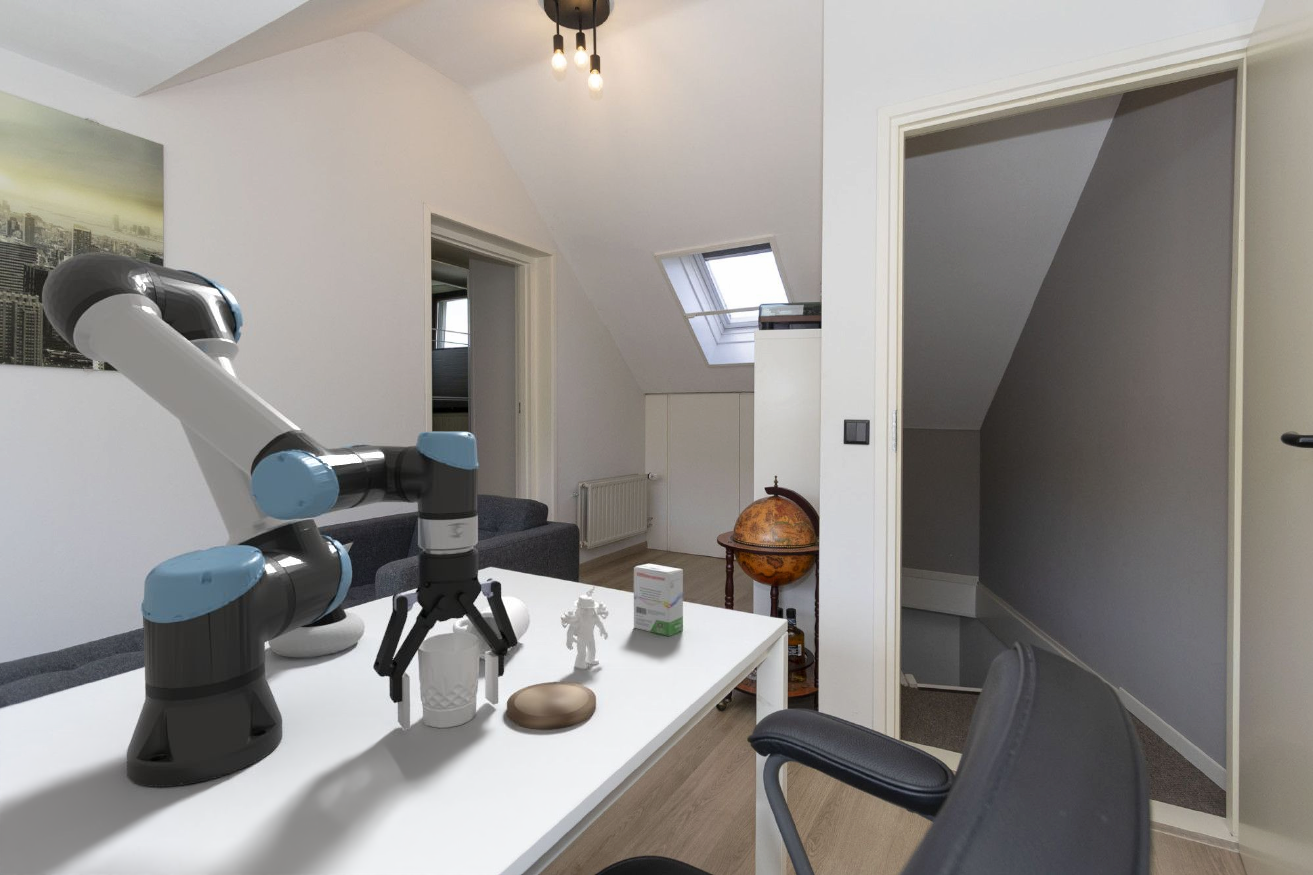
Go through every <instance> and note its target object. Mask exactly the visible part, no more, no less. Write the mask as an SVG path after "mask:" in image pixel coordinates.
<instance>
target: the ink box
mask: <svg viewBox="0 0 1313 875" xmlns="http://www.w3.org/2000/svg"><path fill="white" fill-rule="evenodd" d="M683 571H684V569H682V568H676V567H670V566H665V565H659V564H656V563H655V564H653V563H646V564H640V565H636V566H635V567H633V628H634V629H637V630H642V631H647V632H650V633H653V634H654V633H655V634H658V635H662V636H666V637H671V636H673V635H676V634H678V633H679V632H681V631H683V630H684V575H683V574H684V572H683Z"/></svg>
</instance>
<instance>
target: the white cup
mask: <svg viewBox="0 0 1313 875" xmlns="http://www.w3.org/2000/svg"><path fill="white" fill-rule="evenodd" d="M479 653H480V638H479V637H478V636H476V635H473V634H469V633H454V632H448V633H447V632H446V633H440V634H436V635H431V636H428V637H425V639H424V640H423V642H422V644H421V645H420V647H419V649H418V650H417V660H418V680H419V691H420V700H421V706H422V719H423V720H422V722H423V723H424V724H425V725H426V726H428V727H431V728H432V727H433V728H437V729H442V728H443V729H447V728H453V727H456V726H457V727H458V726H461V725H464V724H466V723H468V722H469V721H472V719H473V718H474V717H475V716H476V714H477V695H478V691H479V688H478V687H479V674H480V658H479Z"/></svg>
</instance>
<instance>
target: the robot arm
mask: <svg viewBox="0 0 1313 875" xmlns="http://www.w3.org/2000/svg"><path fill="white" fill-rule="evenodd" d="M41 301H42V309H43V310H44V314H45V317H46V318H47V320H48V322H49V323H50V325H51V326H52V328H53V329H54V330H55V331H56V333H58V334H59V335H60V336H61V338H62V339H63V340H64V341H65V342H67V343H68V344H69V345H70V346H72V348H73V349H75V350H77V352H79V353H80V354H82V356H84V357H86V358H87V359H89V360H92V361H96V362H101V363H107V364H109V365H110V366H112V367H113V368H114V369H115V370H117V371H118V372H119V373H120V374H121V375H123V377H125V378H126V379H128V380H129V381H130V382H132V383H133V384H134V385H135V386H136V387H138V388H139V389H141V391H143V392H144V393H145V394H146V395H147V396H149V397H150V398H151V399H153V400H154V401H155V402H157V403H158V404H159V405H160V406H162V407H163V409H165V410H167V411H168V412H169V413H170V414H172V416H174V417H175V418H177V419H178V420H179V423H180V425H181V428H182V429H183V431H184V434H185V435H186V439H187V441H188V443H189V445H190V448H191V450H192V452H193V454H194V457H195V460H196V461H197V463H198V467H199V469H200V471H201V473H202V475H203V477H204V481H205V482H206V484H207V487H208V489H209V493H210V494H211V496H212V499H213V501H214V503H215V506H216V508H217V510H218V512H219V516H220V517H221V520H222V521H223V525H224V526H225V529H226V531H227V533H228V536H229V538H228V540H227V542H226V544H225V545H220V546H212V547H209V548H207V549H198V550H194V551H189V552H185V553H183V554H180V555H177V556H174V557H171V558H168V559H166V560H164V561H162V562H160V563H159V564H157V565H156V566H154V567H153V568H151V570H150V571H149V573H147V575H146V577H145V580H144V584H143V585H144V586H143V587H144V589H143V599H142V603H141V606H140V607H141V608H140V611H141V613H142V624H143V625H142V626H143V630H142V631H143V648H144V649H143V650H144V653H143V654H144V655H143V656H144V681H145V682H144V683H145V684H144V688H145V690H144V691H145V694H144V695H145V699H144V702H143V705H142V708H141V711H140V714H139V717H138V719H137V723H136V724H135V728H134V730H133V734H132V735H131V736H132V737H131V739H130V742H129V745H128V748H127V750H126V758H125V759H126V775H127V777H128V779H129V780H130V781H132V782H133V783H135V784H138V785H142V786H148V787H175V786H185V785H189V784H196V783H200V782H204V781H207V780H208V781H209V780H213V779H216V778H219V777H223V776H225V775H229V774H231V773H233V772H237V771H239V770H241V769H244V768H246V767H249V766H250V765H253V764H254V763H256V762H258V761H260V760H262V759H264V758H265V757H266V756H267V755H269V754H270V753H271V752H273V751H274V750H275V749H276V748H277V747H278V746H279V744H280V743H281V742H282V739H283V717H282V713H281V712H280V709H279V705H278V704H277V701H276V699H275V696H274V694H273V692H272V689H271V688H270V687H271V686H270V685H269V683H268V680H267V677H266V650H265V649H266V646H265V645H266V644H265V643H267V642H268V641H269V640H272V639H274V638H276V637H279V636H281V635H283V634H285V633H288V632H290V631H292V630H294V629H297V628H299V627H301V626H303V625H308V624H311V623H312V622H314V621H317V620H319V619H320V618H322V617H323V616H324V615H326V614H328V613H330V612H331V611H333V610H334V609H335V608H336V607H338V606H339V604H341V603H342V602H344V600H345V598H346V596H347V593H348V591H349V588H350V586H351V584H352V578H353V570H352V569H353V568H352V561H351V558H350V556H349V554H348V553H349V552H348V553H347V551H346V550H345V548H344V547H343V544H342V543H340V541H338V540H337V539H333V538H332V537H331V536H328V535H325V534H323V535H322V534H321V532H320V530H319V528H318V526H317V523H316V522H315V519H314V518H316V517H320V516H322V515H325V514H330V513H334V512H338V511H343V510H347V509H348V510H349V509H353V508H358V507H362V506H363V507H364V506H368V505H372V504H377V503H379V504H380V503H408V504H411V503H417V520H418V521H417V522H418V524H417V528H418V530H417V532H418V533H417V535H418V536H417V545H418V548H420V549H422V550H420V552H419V553H418V555H417V556H418V557H417V558H418V559H417V560H418V563H417V564H418V570H417V571H418V585H417V587H416V590H415V592H410V593H404V594H402V593H401V592H396V593H394V594H393V595H392V611H391V613H390V614H391V615H390V617H389V620H388V623H387V626H386V629H385V631H384V634H383V637H382V640H381V643H380V646H379V648H378V651H377V655H376V658H375V659H374V660H375V661H374V663H373V670H374V671H375V672H376V674H377V675H378V676H380V677H381V678H383V677H389V678H388V679H389V680H388V682H389V683H388V684H389V686H388V688H389V698H390V700H391V701H392V702H393V703H394V704H396V703H397V723H398V724H399V725H400V726H401V728H402V729H403V730H407V729H410V728H411V695H410V692H411V690H410V688H411V686H410V685H411V682H410V681H411V680H410V675H409V674H408V673H407V672H406V670H407V669H408V667H409V666H410V664H411V662H412V660H413V659H414V657H415V656H416V654H417V653H418V649H419V647H420V645H421V644H422V642H423V640H424V639H426V638H427V635H428V634H429V632H430V630H432V629H434V627H435V625H436V623H437V621H438V622H439V623H441V622H446V621H448V620H449V621H450V620H451V619H457V620H459V619H463V618H464V616H466V618H468V619H469V620H470V621H471V623H472V624H473V625H474V627H475V628H476V629H477V630H478V632H479V633H480V634H481V636H482V637H483V638H484V640H485V641H486V642H487V644H488V645H489V646H490V648H491V649H492V652H491V651H487V652H485V660H484V663H485V664H484V668H485V669H484V670H485V672H484V674H485V675H484V676H485V677H484V679H485V680H484V681H485V682H484V683H485V686H484V688H485V689H484V691H485V692H484V693H485V694H484V696H485V697H484V698H485V699H486V700H487V701H488V702H489V703H491V704H492V705H497V704H499V677H503V676H504V673H505V656H506V655H507V654H508V652H509V651H508V649H509V648H510V647H512V648H515V647H516V646H517V645H518V641H517V638H516V636H515V633H514V630H513V628H512V625H511V622H510V620H509V617H508V614H507V612H506V609H505V606H504V603H503V601H502V598H501V597H502V583H501V582H500V581H498V580H496V579H493V578H490V577H489V578H488V579H487V580H486V581H482V582H481V581H479V578H478V577H479V550H478V549H477V548H476V547H475V546H477V544H478V543H479V522H478V521H479V519H478V518H479V516H478V514H479V513H478V512H479V511H478V480H479V479H478V478H479V475H478V473H479V466H480V463H479V461H478V448H477V447H478V446H477V438H476V437H475V435H474V434H473V433H471V432H469V431H422V432H420V433H419V434H418V436H417V440H416V441H417V442H416V443H415V445H409V446H400V445H399V446H398V445H397V446H395V445H370V444H355V445H354V444H353V445H346V446H344V445H343V446H341V447H339V448H336V447H335V448H327V447H325V446H323V445H322V444H321V443H319V442H318V441H316V439H314V438H313V437H311V436H310V435H309V434H307V433H306V432H305V431H303V430H302V429H301V428H300V427H299V426H297V425H296V424H295V423H293V422H292V421H291V420H290V419H289V418H287V417H286V416H284V414H282V413H281V412H279V411H278V410H277V409H276V408H274V407H273V406H272V405H271V404H270V403H268V402H267V401H266V400H264V399H263V398H262V397H260V396H259V395H258V394H257V393H256V392H255V391H253V390H252V389H251V388H249V387H248V386H247V385H245V383H243V382H241V380H240V378H239V375H238V373H237V370H236V368H235V366H234V363H233V362H234V360H235V358H236V356H237V355H238V354H239V351H240V348H239V346H238V342H239V341H240V339H241V335H242V331H240V328H241V327H243V325H244V320H243V314H242V310H241V307H240V305H239V303H238V301H237V299H236V298H235V297H234V295H233V293H231V292H230V291H229V290H228V288H226V287H225V286H224V285H222V283H220V282H217V281H216V280H213V279H211V278H209V277H205V276H203V275H201V274H199V273H197V272H196V273H195V272H193V271H189V270H183V269H174V268H170V267H166V266H162V265H159V264H155V263H152V262H148V261H143V260H141V259H137V258H133V257H130V256H126V255H122V254H119V253H118V254H117V253H114V252H103V251H102V252H101V251H100V252H96V251H95V252H86V253H81V254H78V255H77V254H76V255H74V256H72V257H68V258H67V259H65V260H64V261H61V263H59V264H58V265H57V266H55V267H54V268H53V269H52V271H51V272H50V273H49V274H48V276H47V277H46V279H45V281H44V284H43V286H42V292H41ZM481 592H482V595H483V596H484V597H486V600H487V603H488V606H490V608H491V611H492V614H493V616H494V619H495V622H496V624H497V627H498V630H499V632H500V635H501V639H500V640H499V639H498V637H497V636H496V634H495V633H494V632H493V630H492V629H491V628H490V626H489V625H488V624H487V622H486V621H485V620H484V618H483V617H482V616H481V613H480V612H481V611H480V610H479V609H478V608H477V606H476V605H475V604H474V603H475V602H476V600H477V598H478V597H479V596H480V594H481ZM415 603H418V605H419V606H420V607H421V609H420V611H419V613H418V614H417V616H416V617H415V622H414V624H413V626H412V627H411V629H410V630H409V632H408V634H407V635H406V637H405V639H404V641H403V642H402V644H401V645H400V647H399V649H398V651H397V648H398V644H399V643H400V640H401V638H402V637H401V636H402V635H403V634H402V633H403V630H404V628H405V625H406V622H407V619H408V614H409V612H410V611H412V609H413V608H414V607H413V606H414V605H415ZM396 652H397V653H396Z"/></svg>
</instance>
